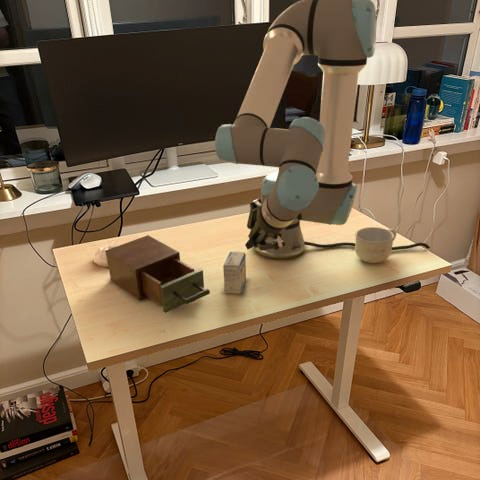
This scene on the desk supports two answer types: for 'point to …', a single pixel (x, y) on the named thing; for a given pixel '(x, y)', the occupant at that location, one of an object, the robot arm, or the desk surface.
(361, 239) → the teacup
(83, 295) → the desk surface
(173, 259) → the drawer
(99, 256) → the rose
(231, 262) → the medicine box
